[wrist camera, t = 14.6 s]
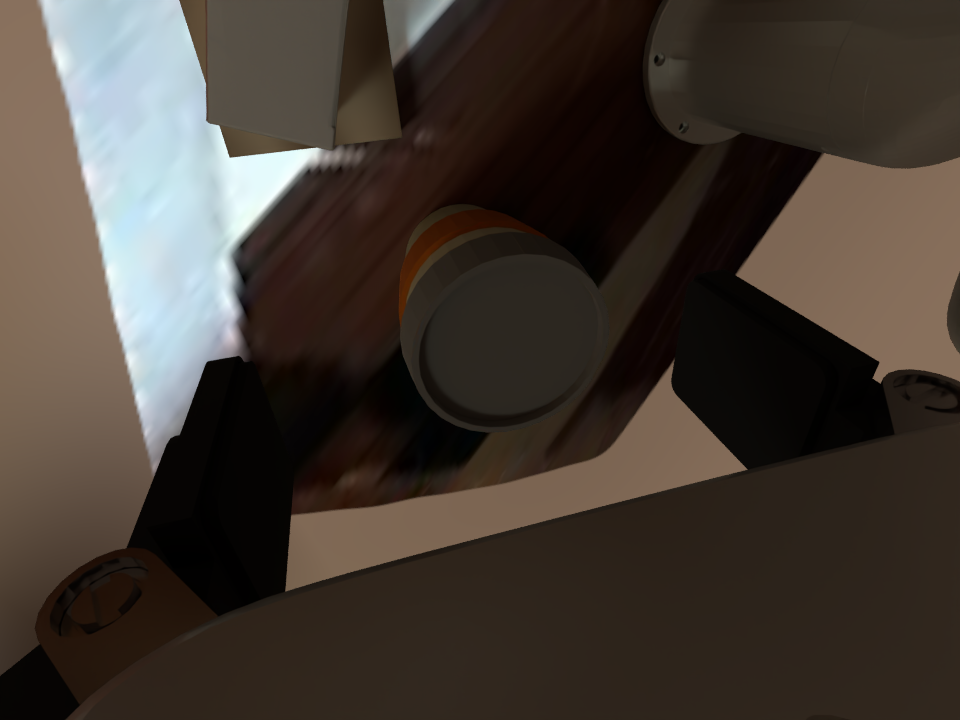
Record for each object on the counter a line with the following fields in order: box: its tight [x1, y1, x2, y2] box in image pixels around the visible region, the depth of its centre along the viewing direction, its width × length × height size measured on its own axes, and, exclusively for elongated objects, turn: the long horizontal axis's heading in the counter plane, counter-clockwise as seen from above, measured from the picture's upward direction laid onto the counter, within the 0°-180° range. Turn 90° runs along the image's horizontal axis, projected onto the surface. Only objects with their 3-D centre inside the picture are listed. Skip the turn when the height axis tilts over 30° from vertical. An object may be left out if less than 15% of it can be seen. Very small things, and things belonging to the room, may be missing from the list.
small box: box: [205, 0, 349, 150], centre depth 26 cm, size 8×6×10 cm
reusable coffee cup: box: [399, 204, 609, 432], centre depth 36 cm, size 13×13×15 cm
